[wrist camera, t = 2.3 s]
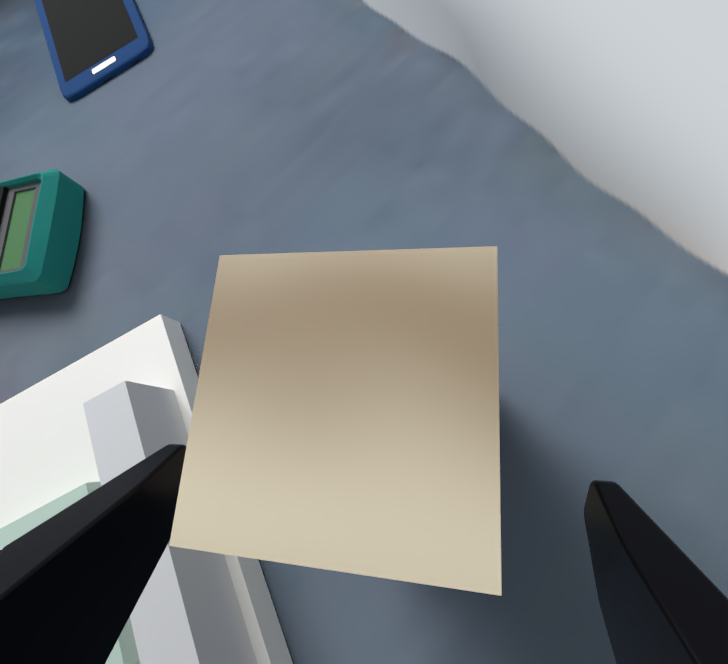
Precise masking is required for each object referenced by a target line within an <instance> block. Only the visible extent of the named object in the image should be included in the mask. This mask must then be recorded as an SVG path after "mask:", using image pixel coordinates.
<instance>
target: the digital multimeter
mask: <svg viewBox="0 0 728 664" xmlns="http://www.w3.org/2000/svg"><path fill="white" fill-rule="evenodd" d="M83 197H84V189H83V187H82V186H81V185H79V184H78V183H76V182H75V181H73V180H72V179H70V178H69V177H67V176H66V175H64V174H63V173H62V172H60V171H59V170H57V169H52V170H48V171H44V172H39V173H35V174H31V175H27V176H24V177H20V178H16V179H12V180H8V181H4V182H0V299H4V298H13V297H23V296H33V295H43V294H53V293H61V292H63V291H65V290H66V289H67V288H68V286H69V282H70V279H71V275H72V271H73V267H74V263H75V258H76V254H77V249H78V245H79V238H80V232H81V225H82V214H83Z"/></svg>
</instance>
